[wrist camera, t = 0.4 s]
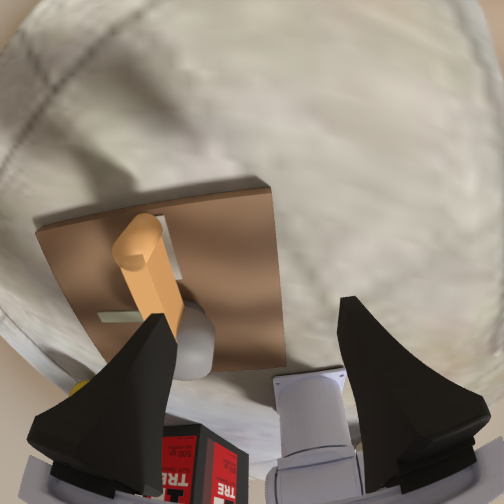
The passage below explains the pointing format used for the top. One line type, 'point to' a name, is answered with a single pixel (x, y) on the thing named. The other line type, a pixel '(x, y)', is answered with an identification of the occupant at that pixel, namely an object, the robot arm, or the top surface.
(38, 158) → the top surface
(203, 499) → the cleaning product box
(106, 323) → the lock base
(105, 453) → the robot arm
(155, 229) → the orange and grey bar
